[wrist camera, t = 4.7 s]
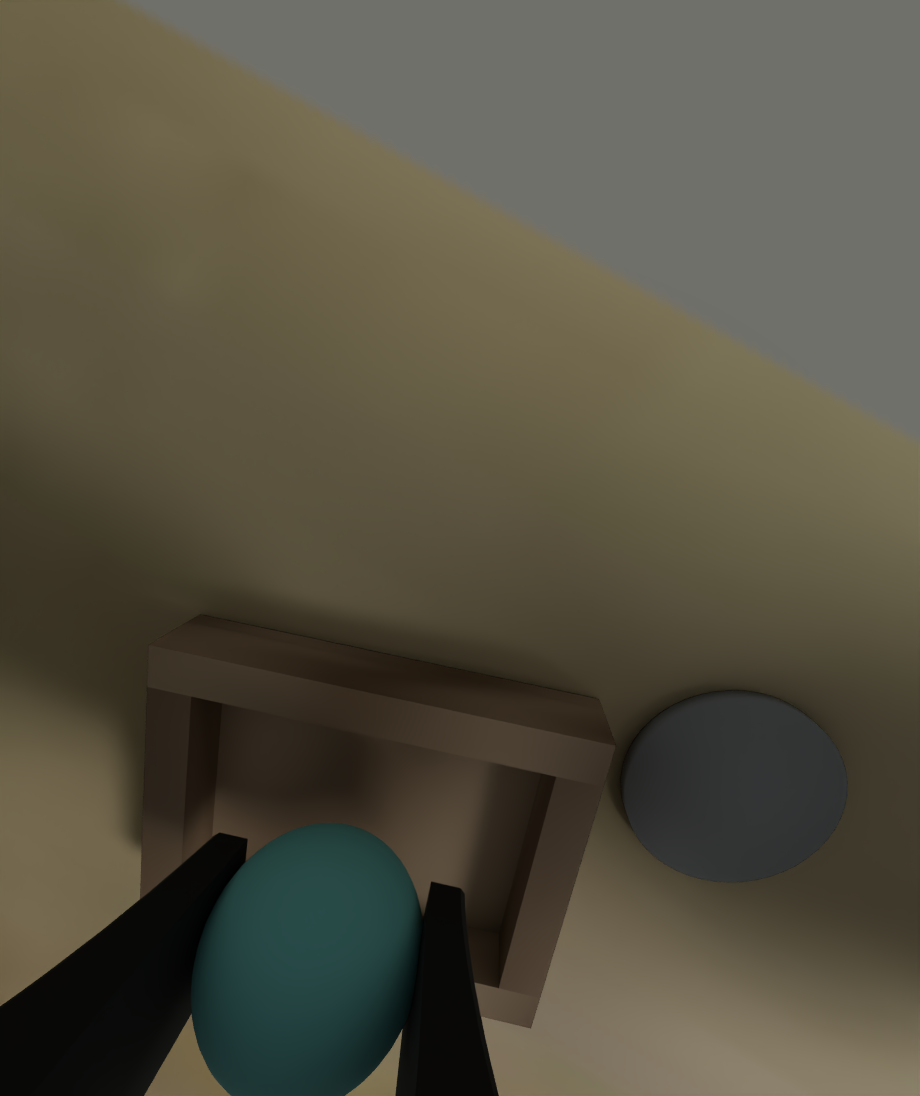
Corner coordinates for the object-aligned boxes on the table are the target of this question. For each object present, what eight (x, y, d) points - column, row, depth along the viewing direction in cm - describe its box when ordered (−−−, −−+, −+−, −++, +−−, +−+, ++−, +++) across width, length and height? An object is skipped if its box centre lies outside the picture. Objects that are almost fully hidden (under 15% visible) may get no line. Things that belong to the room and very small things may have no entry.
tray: (599, 699, 12) (616, 745, 10) (526, 951, 13) (531, 1028, 12) (200, 614, 12) (148, 644, 10) (184, 870, 14) (139, 933, 12)
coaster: (868, 715, 11) (882, 726, 11) (793, 887, 12) (803, 902, 12) (652, 670, 11) (657, 678, 11) (598, 843, 12) (601, 856, 12)
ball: (457, 807, 10) (407, 1037, 6) (426, 950, 11) (365, 1223, 7) (280, 757, 11) (130, 942, 7) (265, 898, 12) (127, 1130, 8)
